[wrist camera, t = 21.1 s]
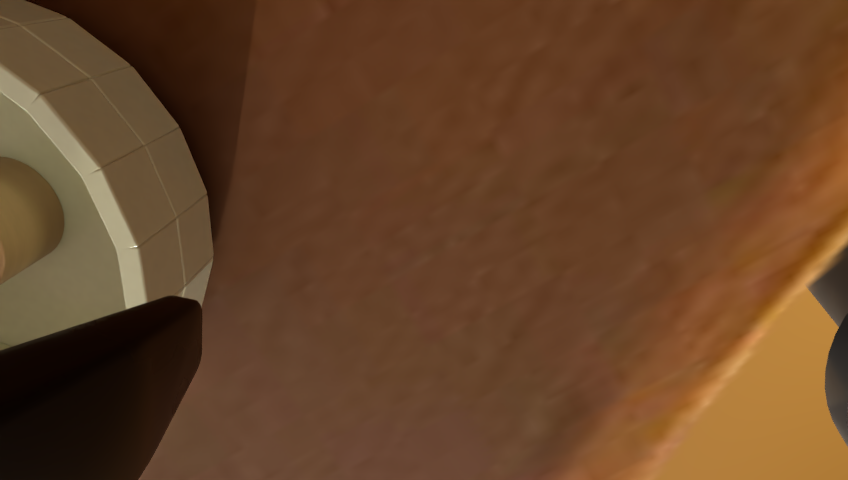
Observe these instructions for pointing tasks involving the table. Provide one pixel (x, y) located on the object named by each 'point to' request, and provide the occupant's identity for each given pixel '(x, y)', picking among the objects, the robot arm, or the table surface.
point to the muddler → (26, 218)
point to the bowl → (96, 179)
